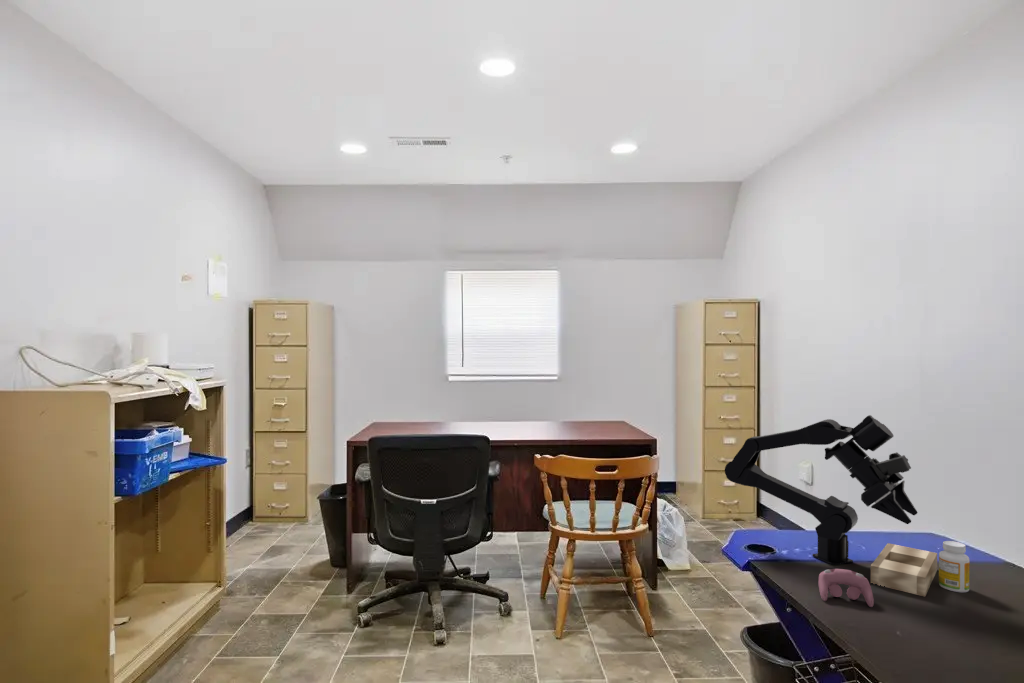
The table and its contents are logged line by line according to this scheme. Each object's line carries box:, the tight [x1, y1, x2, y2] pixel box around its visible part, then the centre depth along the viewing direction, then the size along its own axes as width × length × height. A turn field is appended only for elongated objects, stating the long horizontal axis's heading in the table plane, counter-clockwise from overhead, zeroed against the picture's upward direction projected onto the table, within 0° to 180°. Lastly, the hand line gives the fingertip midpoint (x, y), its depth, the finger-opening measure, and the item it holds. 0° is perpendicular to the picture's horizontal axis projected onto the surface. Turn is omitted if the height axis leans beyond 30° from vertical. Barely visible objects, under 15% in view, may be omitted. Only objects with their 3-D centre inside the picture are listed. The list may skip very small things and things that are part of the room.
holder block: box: [870, 542, 938, 597], centre depth 134 cm, size 10×20×4 cm, turn 138°
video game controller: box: [817, 568, 875, 608], centre depth 122 cm, size 10×5×7 cm, turn 71°
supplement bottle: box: [938, 540, 971, 593], centre depth 128 cm, size 5×5×10 cm
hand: (912, 518), depth 133 cm, fingers open, 9 cm apart
